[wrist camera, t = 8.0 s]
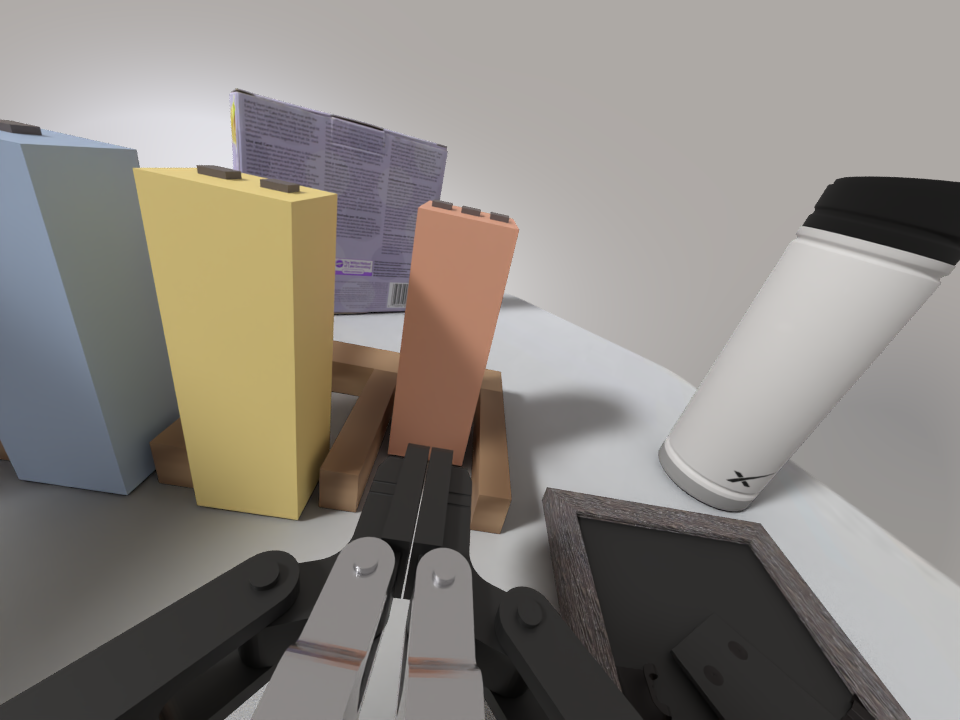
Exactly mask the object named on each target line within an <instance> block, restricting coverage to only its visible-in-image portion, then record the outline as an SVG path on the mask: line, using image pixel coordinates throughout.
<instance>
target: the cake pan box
mask: <svg viewBox="0 0 960 720" xmlns="http://www.w3.org/2000/svg"><path fill="white" fill-rule="evenodd" d="M229 95H230V114H231V131H232V147H233V170H237V171H241V173H245V174H249V175H254V176H258V177H263V178H268V179H278V180H282V181H287V182H291V183H296V184H300V186H304V187H309V188H313V189H318V190H322V191H327V192H331V193H336V194H338V195H337V227H336V259H335V291H334V314H356V313H368V312H386V311H405V309H406V301H407V293H408V285H409V277H410V269H411V261H412V253H413V244H414V236H415V228H416V220H417V212H418V207H420V206H421V205H423V204H425V203H426V202H428V201H430V200H431V201H433V200H434V199H435V200H440V195H441V189H442V183H443V177H444V170H445V165H446V158H447V146H444V145H441V144H437V143H433V142H430V141H427V140H423V139H419V138H416V137H412V136H408V135H405V134H402V133H398V132H395V131H391V130H388V129H384V128H381V127H378V126H375V125H372V124H368V123H365V122H361V121H357V120H354V119H350V118H346V117H342V116H338V115H334V114H329V113H324V112H321V111H317V110H313V109H309V108H305V107H302V106H298V105H295V104H291V103H287V102H284V101H280V100H276V99H272V98H269V97H265V96H261V95H257V94H253V93H251V92H248V91H245V90H242V89H238V88H235V89H234V90H233V91H232V92H231V93H230V94H229Z"/></svg>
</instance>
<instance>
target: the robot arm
mask: <svg viewBox="0 0 960 720" xmlns="http://www.w3.org/2000/svg"><path fill="white" fill-rule="evenodd" d="M429 451H430V446H424V445H418V444H412V443H408V446H407V450H406V453H405V457H404V459H403V458H397V457H391V456H389V457H388V458H387V459H386V460H385V461H384V462H383V463H382V464H381V465H379V466H378V469H377V472H376V475H375V477H374V480H373V483H372V485H371V488H370V491H369V494H368V496H367V499H366V502H365V505H364V507H363V510H362V513H361V516H360V518H359V521H358V524H357V526H356V529H355V532H354V535H353V537H352V539H351V540H350V542H349V543H348V544H347V545H346V546H345V547H344V548H343V549H342V550H341V551H340V552H338V553H337V554H335V555H333V556H331V557H328V558H325V559H321V560H316V561H310V562H304V563H298V562H297V561H296V559H295V558H294V557H293V556H292V555H290V554H289V553H286V552H284V551H266V552H262V553H260V554H257V555H255V556H253V557H251V558H249V559H248V560H246V561H244V562H242V563H241V564H239V565H237V566H236V567H234V568H232V569H231V570H229V571H227V572H226V573H224V574H222V575H220V576H219V577H217V578H215V579H214V580H212V581H210V582H209V583H207V584H205V585H203V586H202V587H200V588H198V589H197V590H195V591H193V592H192V593H190V594H188V595H187V596H185V597H183V598H181V599H180V600H178V601H176V602H175V603H173V604H171V605H170V606H168V607H166V608H164V609H163V610H161V611H159V612H158V613H156V614H154V615H153V616H151V617H149V618H148V619H146V620H144V621H142V622H141V623H139V624H137V625H136V626H134V627H132V628H131V629H129V630H127V631H126V632H124V633H122V634H120V635H119V636H117V637H115V638H114V639H112V640H110V641H109V642H107V643H105V644H103V645H102V646H100V647H98V648H97V649H95V650H93V651H92V652H90V653H88V654H87V655H85V656H83V657H81V658H80V659H78V660H76V661H75V662H73V663H71V664H70V665H68V666H66V667H65V668H63V669H61V670H59V671H58V672H56V673H54V674H53V675H51V676H49V677H48V678H46V679H44V680H42V681H41V682H39V683H37V684H36V685H34V686H32V687H31V688H29V689H27V690H26V691H24V692H22V693H20V694H19V695H17V696H15V697H14V698H12V699H10V700H9V701H7V702H5V703H3V704H2V705H0V720H224V719H225V718H226V717H228V716H229V715H230V714H231V713H232V712H233V711H235V710H236V709H237V708H238V707H239V706H240V705H242V704H243V703H244V702H245V701H246V700H248V699H249V698H250V697H251V696H252V695H253V694H255V693H256V692H257V691H258V690H259V689H261V688H262V687H263V686H264V685H265V684H266V683H268V682H269V683H268V686H267V688H266V690H265V692H264V694H263V696H262V698H261V700H260V702H259V704H258V706H257V708H256V710H255V712H254V714H253V716H252V718H251V720H358V718H359V714H360V711H361V707H362V704H363V701H364V697H365V694H366V690H367V687H368V684H369V680H370V677H371V673H372V670H373V667H374V663H375V660H376V656H377V653H378V650H379V646H380V643H381V639H382V636H383V633H384V628H385V626H386V624H387V622H388V619H389V614H390V610H391V605H392V601H393V598H400V599H401V594H402V589H403V584H404V579H405V574H406V569H407V564H408V559H409V554H410V549H411V544H412V539H413V534H414V529H415V524H416V519H417V514H418V509H419V504H420V499H421V494H422V489H423V484H424V478H425V473H426V467H427V462H428V456H429ZM452 460H453V450H449V449H443V448H437V447H432V450H431V455H430V460H429V465H428V471H427V476H426V481H425V486H424V491H423V496H422V501H421V506H420V511H419V517H418V522H417V527H416V532H415V537H414V542H413V548H412V553H411V558H410V564H409V569H408V575H407V580H406V586H405V591H404V597H403V599H409V600H410V604H409V610H408V615H407V621H406V626H405V632H404V639H403V648H402V658H401V667H400V676H399V685H398V695H397V704H396V713H395V720H485V713H484V698H485V700H486V702H487V704H488V705H489V707H490V709H491V711H492V712H493V714H494V716H495V718H496V719H497V720H643V718H642V717H641V716H640V715H639V713H638V712H637V711H636V710H635V708H634V707H633V706H632V705H631V703H630V702H629V701H628V700H627V698H626V697H625V696H624V695H623V693H622V692H621V691H620V690H619V688H618V687H617V686H616V685H615V684H614V682H613V681H612V680H611V679H610V677H609V676H608V675H607V674H606V672H605V671H604V670H603V669H602V667H601V666H600V665H599V664H598V662H597V661H596V660H595V659H594V657H593V656H592V655H591V654H590V652H589V651H588V650H587V649H586V647H585V646H584V645H583V644H582V642H581V641H580V640H579V639H578V637H577V636H576V635H575V634H574V632H573V631H572V630H571V629H570V627H569V626H568V625H567V624H566V622H565V621H564V620H563V619H562V618H561V616H560V615H559V614H558V613H557V611H556V610H555V609H554V608H553V606H552V605H551V604H550V603H549V601H548V600H547V599H546V598H545V597H544V596H543V595H542V594H541V593H539V592H538V591H536V590H534V589H532V588H528V587H515V588H513V589H511V590H509V591H508V592H505V591H503V590H501V589H499V588H497V587H495V586H493V585H491V584H490V583H488V582H486V581H485V580H484V579H482V578H481V577H480V576H479V575H478V574H477V572H476V571H475V570H474V568H473V566H472V563H471V561H470V556H469V546H470V523H471V500H472V498H471V496H472V480H471V478H470V475H469V473H468V471H467V469H464V468H458V467H452Z"/></svg>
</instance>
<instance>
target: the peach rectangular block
mask: <svg viewBox="0 0 960 720" xmlns="http://www.w3.org/2000/svg"><path fill="white" fill-rule="evenodd" d="M518 233H519V229H518V227H517V225H516V223H515V222H514V220H513V219H511V218H509V216H506V215H502V214H498V213H493V212H491V213H490V214H489V213H484V212H481V210H480V209H475V208H471V207H466V206H463V207H457V206H453V204H452V203H449V202H444V201H440V200H435V199H434V200H433V201H431V200H430V201H428V202H426V203H425V204H423V205H421V206H420V207H418V212H417V220H416V228H415V236H414V244H413V253H412V261H411V269H410V277H409V285H408V293H407V301H406V309H405V318H404V326H403V334H402V342H401V350H400V358H399V366H398V375H397V383H396V391H395V399H394V407H393V415H392V423H391V432H390V440H389V448H388V454H392V455H398V456H404V457H405V453H406V450H407V446H408V443H412V444H418V445H424V446H430V451H429V456H428V460H430V455H431V450H432V447H437V448H443V449H449V450H453V460H452V464H453V465H459V466H462V463H463V459H464V454H465V450H466V446H467V442H468V438H469V434H470V430H471V426H472V422H473V418H474V413H475V409H476V405H477V401H478V397H479V393H480V389H481V385H482V381H483V376H484V372H485V368H486V364H487V360H488V356H489V352H490V348H491V344H492V340H493V335H494V331H495V327H496V323H497V319H498V315H499V311H500V307H501V303H502V298H503V294H504V290H505V286H506V282H507V278H508V274H509V269H510V266H511V261H512V257H513V253H514V249H515V245H516V240H517V237H518Z"/></svg>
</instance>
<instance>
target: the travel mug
mask: <svg viewBox="0 0 960 720" xmlns="http://www.w3.org/2000/svg"><path fill="white" fill-rule="evenodd" d="M796 235H797V238H796V239H795V240H792V241H791V242H790V244H789V245H788V247H787V249H786V250H785V252H784V253H783V255H782V256H781V258H780V260H779V261H778V263H777V264H776V266H775V268H774V269H773V271H772V272H771V274H770V276H769V277H768V279H767V280H766V282H765V283H764V285H763V286H762V288H761V290H760V291H759V293H758V294H757V296H756V297H755V299H754V301H753V302H752V304H751V306H750V307H749V309H748V310H747V312H746V313H745V315H744V316H743V318H742V320H741V321H740V323H739V324H738V326H737V327H736V329H735V331H734V332H733V334H732V336H731V337H730V339H729V340H728V342H727V343H726V345H725V346H724V348H723V350H722V351H721V353H720V354H719V356H718V357H717V359H716V361H715V362H714V364H713V365H712V367H711V368H710V370H709V372H708V373H707V375H706V376H705V378H704V380H703V381H702V383H701V384H700V386H699V387H698V389H697V391H696V392H695V394H694V395H693V397H692V398H691V400H690V402H689V403H688V405H687V406H686V408H685V410H684V411H683V413H682V414H681V416H680V417H679V419H678V421H677V422H676V424H675V425H674V427H673V428H672V430H671V432H670V434H669V435H668V436H667V438H666V439H665V441H664V443H663V444H662V446H661V447H660V449H659V454H658V455H659V460H660V463H661V465H662V467H663V469H664V470H665V472H666V473H667V474H668V476H669V477H670V478H671V479H672V480H673V481H674V482H675V483H676V484H677V485H678V486H679V487H680V488H681V489H683V490H684V491H685V492H687V493H688V494H689V495H691V496H693V497H694V498H696V499H697V500H699V501H701V502H703V503H705V504H707V505H710V506H712V507H715V508H718V509H722V510H726V511H741V510H744V509H746V508H747V507H748V506H749V505H750V504H751V503H752V501H753V500H754V499H755V498H756V497H757V496H758V494H759V493H760V491H762V490H763V489H764V488H765V486H766V485H767V484H768V483H769V482H770V481H771V480H772V478H773V477H774V476H775V475H776V474H777V473H778V471H779V470H780V469H781V468H782V467H783V466H784V465H785V463H786V462H787V461H788V460H789V459H790V458H791V456H792V455H793V454H794V453H795V452H796V450H797V449H798V448H799V447H800V446H801V445H802V443H804V441H805V440H806V439H807V438H808V437H809V436H810V435H811V433H812V432H813V431H814V430H815V429H816V428H817V426H818V425H819V424H820V423H821V422H822V421H823V419H824V418H825V417H826V416H827V415H828V413H830V411H831V410H832V409H833V408H834V407H835V406H836V405H837V403H838V402H839V401H840V400H841V398H843V396H844V395H845V394H846V393H847V392H848V390H850V388H851V387H852V386H853V385H854V384H855V383H856V381H857V380H858V379H859V378H860V377H861V376H862V375H863V373H864V372H865V371H866V370H867V369H868V368H869V366H870V365H871V364H872V363H873V362H874V361H875V359H876V358H877V357H878V356H879V355H880V354H881V353H882V351H883V350H884V349H885V348H886V347H887V346H888V345H889V343H890V342H891V341H892V340H893V339H894V338H895V336H896V335H897V334H898V333H899V332H900V331H901V329H902V328H903V327H904V326H905V325H906V324H907V322H908V321H909V320H910V319H911V318H912V317H913V316H914V314H915V313H916V312H917V311H918V310H919V309H920V308H921V306H922V305H923V304H924V303H925V302H926V301H927V299H928V298H929V297H930V296H931V295H932V294H933V292H934V291H935V290H936V289H937V288H938V287H939V286H940V284H941V282H940V278H942V277H944V276H947V275H949V274H950V273H951V272H952V271H953V269H954V268H955V266H954V265H956V263H957V262H958V261H959V260H960V182H951V181H942V180H931V179H918V178H902V177H901V178H900V177H844V178H840V179H836V181H835V182H834V184H831V185H828V186H827V188H826V189H825V191H824V193H823V194H822V196H821V197H820V199H819V200H818V202H817V204H816V205H815V211H814V213H813V214H811V215H809V216H808V218H807V219H806V221H805V222H804V224H803V225H802V226H801V227H800V228H799V230H798V231H797V233H796Z"/></svg>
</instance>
